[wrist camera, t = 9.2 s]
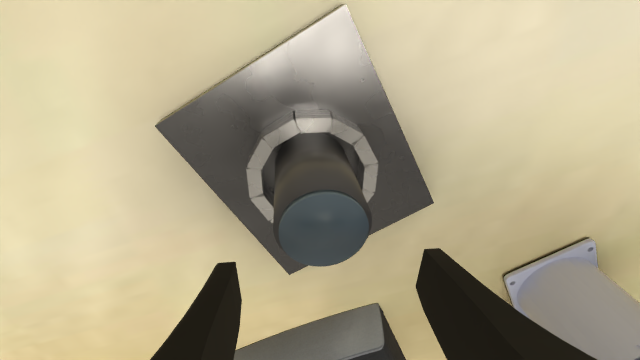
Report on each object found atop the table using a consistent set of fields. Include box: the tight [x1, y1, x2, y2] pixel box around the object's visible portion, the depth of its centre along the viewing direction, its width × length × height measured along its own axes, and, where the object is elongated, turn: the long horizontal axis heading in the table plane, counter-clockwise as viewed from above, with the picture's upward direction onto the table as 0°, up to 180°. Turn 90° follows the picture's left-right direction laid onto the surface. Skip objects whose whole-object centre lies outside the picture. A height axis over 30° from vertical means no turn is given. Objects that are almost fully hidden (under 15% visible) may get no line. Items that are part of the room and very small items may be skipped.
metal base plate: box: [155, 4, 434, 275], centre depth 19 cm, size 14×12×2 cm
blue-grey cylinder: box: [273, 132, 372, 266], centre depth 16 cm, size 4×4×7 cm
